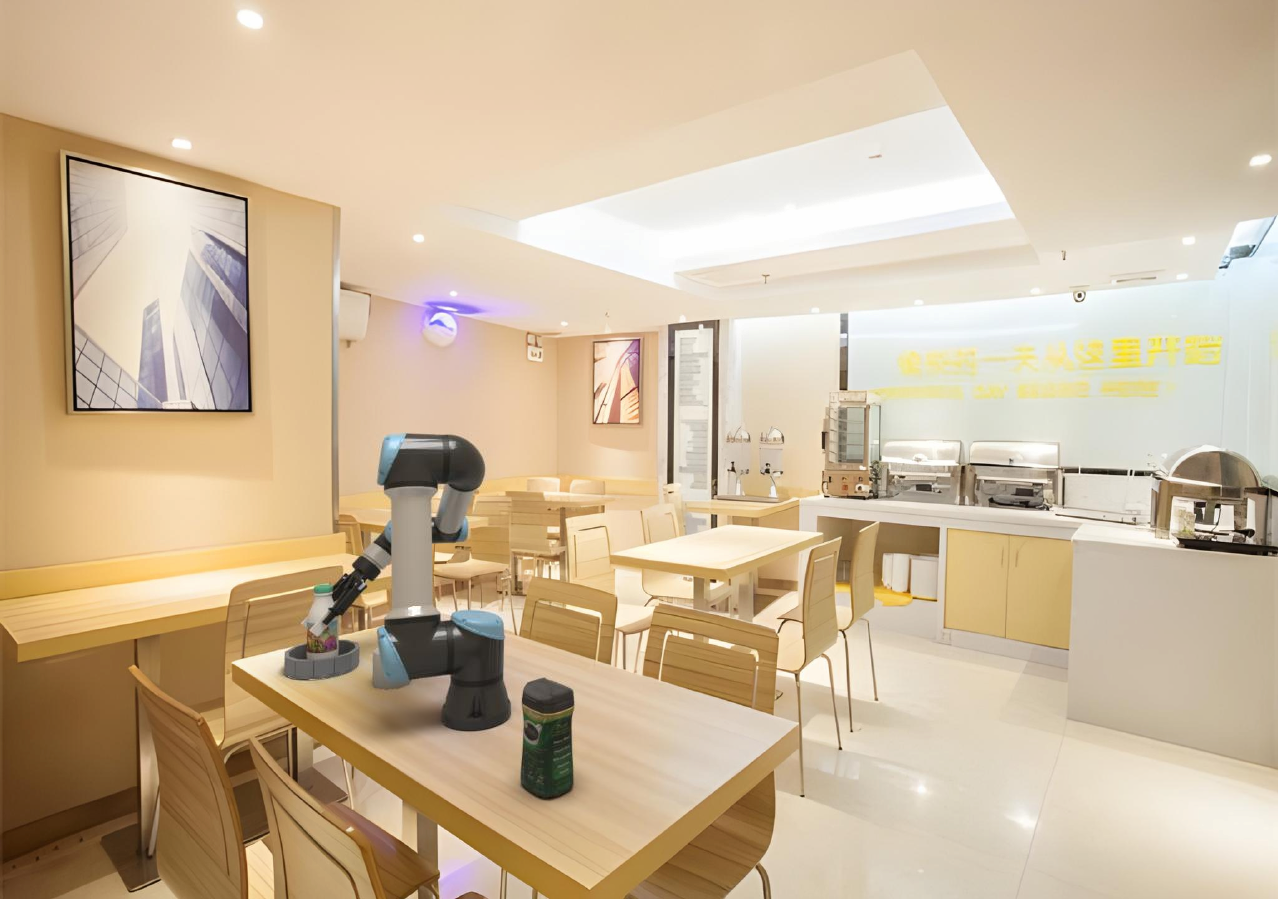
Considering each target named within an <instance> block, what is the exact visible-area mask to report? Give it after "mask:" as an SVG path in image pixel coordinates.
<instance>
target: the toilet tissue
mask: <svg viewBox="0 0 1278 899" xmlns="http://www.w3.org/2000/svg"><path fill="white" fill-rule="evenodd" d="M411 681H413V680H409V681H397V682H390V681H388V680H386V679H385V677H384V675H383V671H382V666H381V660H380V654H379V646H378V647H376V648H375V649H373V650H372V686H373V687H374V688H375V689H377V690H383V689H385V690H384V691H389V689H390V690H398V689H401V688H404V687H407V686H409V685H410V684H411V683H412V682H411Z"/></svg>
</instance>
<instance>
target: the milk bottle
mask: <svg viewBox="0 0 1278 899" xmlns="http://www.w3.org/2000/svg"><path fill="white" fill-rule="evenodd" d="M332 591H333V585H332V584H328V583H327V584H326V583H325V584H317V585H314V587H313V595H314V599H313V602H312V605H311V607H310V609H309V611H308V615H307V616H308V619H307V628H306V643H307V660H317V659H325V658H333V657H336V656H338V652H339V640H340V639H339V638H340V637H339V631H340V629H339V628H340V626H339V624H340V622H339V616H336V618H335V619H334V620H333V621H332V622H331V623H330V624H329V625H328V626H327V627H326V628H325V630H324V631H323V632H322V633H321V634H320V635H319V636H318V637H317V636H316V635H315V634H313V633H312V632H311V631H309V630H310V629H311V628H312V627H313V626H314V625H315V623H316V622H317V621H318V620H319V619H320V618H321V617H322V616H323V615H324V614H325V613H326V612H327V611H328V608H330V607H331V608H332V607H333V605H334V604H335V602H333V599H332V593H333V592H332ZM330 612H331V611H330Z"/></svg>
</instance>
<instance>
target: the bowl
mask: <svg viewBox="0 0 1278 899" xmlns="http://www.w3.org/2000/svg"><path fill="white" fill-rule="evenodd" d="M359 663H360V645H359V642H356V641H353V640H349V639H339V652H338V656H336V657H333V658H325V659H317V660H307V642H305V643H301V644H297V645H294V646H293V647H291V648H289V649H287V650H285V651H284V663H283V664H284V666H283V667H284V669H283V670H284V672H285V674H286V675H287V676H289V677H291V678H295V679H321V680H323V679H322V678H327V679H331V678H330V677H333V678H335V677H334V676H337V677H340V676H342V675H341V674H344V675H346V674H348V672H349V673H351V672H353V671H354V670H356V669H357V668H358V667H357V666H359V665H360V664H359ZM358 664H359V665H358ZM355 668H356V669H355ZM353 669H354V670H353ZM352 670H353V671H352ZM350 671H351V672H350ZM345 673H346V674H345ZM285 674H284V675H285ZM339 675H340V676H339ZM291 678H290V679H291ZM295 679H294V680H295Z"/></svg>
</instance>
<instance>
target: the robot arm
mask: <svg viewBox="0 0 1278 899" xmlns="http://www.w3.org/2000/svg"><path fill="white" fill-rule="evenodd" d="M377 468H378V469H377V478H376V484H377V485H379V486H383V494H384V495H385V496H386V497H388V498H389V499H390V504H391V506H390V509H391V510H390V517H391V518H390V520H389V521H388V522H387V523H386V525H385V527H384V530H383V531H382V532H381V533H380V534H379V535H378V537H377V538H375V540H373V541H372V542H371V543H370V544H369V545H368V546H367V547H366V549H365V550H364V551H363V552H362V555H359V556H358V557H357V558H356V559H355V560H354V561H353V563H351V567H352V568H353V569H354V570H353V571H352V572H350V573H349V574H348V573H347V572H345V573H344V574H342V576H341V577H340V579H338V581H337V582H335V583H334V585H332V586H333V591H332V592H333V593H332V599H333V602H334V605H333V607H332V608H331V607H330V608H328V611H327V612H326V613H325V614H324V615H323V616H322V617H321V618H320V619H319V620H318V621H317V622H316V623H315V625H314V626H313V627H312V628H311V629H310V630H309V631H311V632H312V633H313V634H315V635H316V636H317V637H318V636H319V635H320V634H321V633H322V632H323V631H324V630H325V628H326V627H327V626H328V625H329V624H330V623H331V622H332V621H333V620H334V619H335V618H336V616H338V617H339V616H340V617H342V616H343V615H344V614H345V613H346V612H347V611H348V610H349V608H351V605H353V604H354V602H355V601H356V599H358V598H359V596H360V595H361V594H362V593H363V592H364V591H365V590H366V589H367V588H368V585H367V584H366V582H367V581H369V582H374V581H375V580H376V579H377V578H378V576H380V574H381V573H382V571H381V570H385V568H386V567H387V566H390V565H391V610H390V611H389V612H388V613H387V614H386V615H385V617H384V619H383V620H384V621H383V623H384V625H380V626H379V627H378V628H377V629H376V635H377V646H378V647H379V654H380V660H381V666H382V671H383V675H384V677H385V679H386V680H388V681H390V682H397V681H409V680H412V681H413V680H421V679H428V678H435V677H441V676H449V675H450V682H449V688H448V690H447V694H446V697H445V702H444V703H443V705H442V708H441V722H442V723H443V724H444V725H445V726H446V727H448V728H450V729H454V730H459V731H478V730H486V729H491V728H493V727H495V726H496V727H497V726H498V725H501V724H503V723H505V722H506V721H507V720H508V719H510V716H511V714H512V703H511V700H510V698H509V695H508V691H507V687H506V683H505V681H504V668H505V666H504V665H505V664H504V663H505V661H504V660H505V658H504V655H505V654H504V653H505V639H506V636H505V626H504V620H503V618H501V616H500V615H498V614H496V613H493V612H490V611H484V610H479V609H478V610H477V609H461V610H456V611H454V612H452V613H451V615H450V619H449V620H441V611H440V610H438V609H437V608H436V606H435V605H434V592H433V591H434V588H433V587H434V586H433V585H434V584H433V581H434V580H433V544H435V545H436V544H456V543H463V542H466V541H467V539H468V536H469V535H468V534H469V523H468V522H469V521H468V518H467V517H466V515H467V513H468V510H469V507H470V506H471V502H472V499H473V496H474V494H475V492H476V490H478V489H479V488H480V487H481V485H483V484H482V483H483V481H484V478H485V476H486V463H485V460H484V458H483V455H482V454H481V452H480V450H479V449H478V448H477V447H476V446H475V444H473V443H472V442H471V441H469V440H468V439H466V438H464V437H462V436H460V435H456V434H432V433H431V434H429V433H409V432H408V433H407V432H403V433H391V434H387V435H385V437H384V438H383V441H382V445H381V450H380V456H379V462H378V467H377ZM439 485H444V486H443V490H442V493H441V497H440V501H439V503H438V508H437V512H436V515H435V516H432V498H433V497H435V495H436V494H438V492H439ZM330 611H331V612H330ZM307 619H308V615H307V616H306V617H305V618H304V620H302V621H301V623H300V624H301V625H302V626H303V627H305V628H306V629H307Z"/></svg>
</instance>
